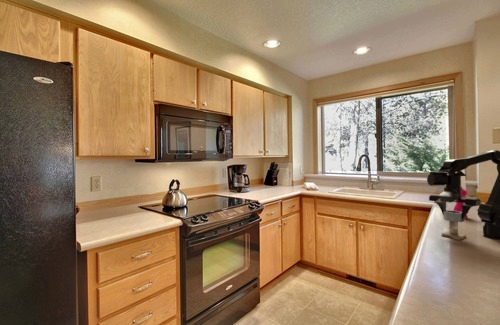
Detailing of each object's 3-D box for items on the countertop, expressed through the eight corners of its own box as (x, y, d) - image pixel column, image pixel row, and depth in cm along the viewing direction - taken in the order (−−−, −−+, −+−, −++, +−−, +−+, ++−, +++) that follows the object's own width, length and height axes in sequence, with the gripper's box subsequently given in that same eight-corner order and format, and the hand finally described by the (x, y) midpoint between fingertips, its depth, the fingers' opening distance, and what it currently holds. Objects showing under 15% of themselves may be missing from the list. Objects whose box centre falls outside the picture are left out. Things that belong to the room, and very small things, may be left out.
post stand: (466, 237, 116) (466, 222, 116) (459, 239, 113) (458, 224, 113) (448, 233, 122) (448, 219, 122) (441, 235, 119) (441, 221, 119)
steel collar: (466, 220, 116) (466, 212, 116) (459, 222, 113) (458, 214, 113) (448, 217, 122) (448, 209, 122) (441, 219, 119) (441, 211, 119)
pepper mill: (463, 219, 150) (462, 187, 150) (450, 216, 157) (450, 185, 157) (471, 218, 152) (471, 186, 152) (458, 215, 159) (458, 185, 159)
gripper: (422, 185, 122) (423, 216, 122) (470, 188, 105) (470, 224, 105) (434, 183, 127) (434, 213, 127) (481, 186, 110) (481, 220, 110)
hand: (453, 217), depth 117 cm, fingers closed on steel collar, 7 cm apart
